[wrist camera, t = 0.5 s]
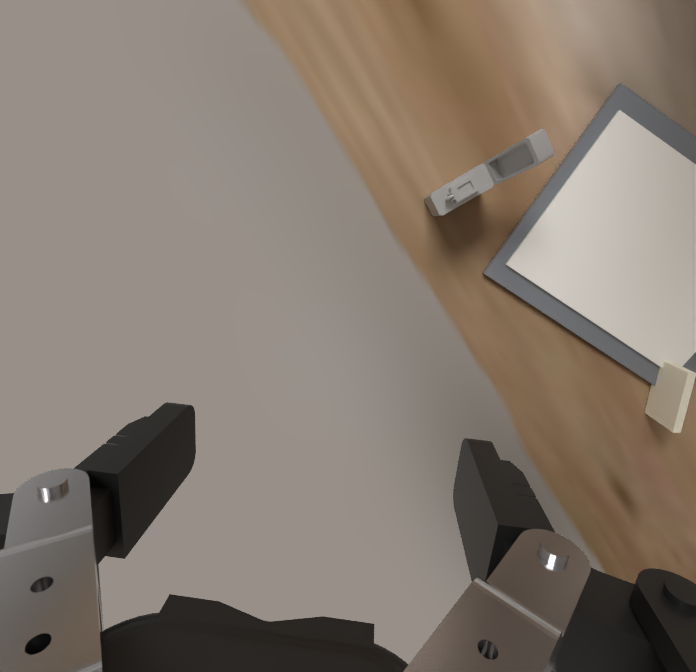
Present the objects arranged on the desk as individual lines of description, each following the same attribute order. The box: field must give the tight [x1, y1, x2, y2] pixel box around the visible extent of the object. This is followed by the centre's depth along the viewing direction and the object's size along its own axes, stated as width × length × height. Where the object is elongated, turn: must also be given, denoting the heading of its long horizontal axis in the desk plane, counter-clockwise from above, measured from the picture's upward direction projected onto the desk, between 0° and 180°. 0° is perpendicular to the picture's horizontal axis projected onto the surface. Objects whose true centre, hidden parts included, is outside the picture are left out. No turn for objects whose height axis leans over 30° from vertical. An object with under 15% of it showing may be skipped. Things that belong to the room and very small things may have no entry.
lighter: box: [424, 129, 554, 216], centre depth 29 cm, size 7×2×8 cm, turn 120°
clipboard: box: [483, 84, 696, 386], centre depth 32 cm, size 16×20×2 cm
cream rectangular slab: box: [645, 361, 696, 433], centre depth 34 cm, size 5×1×4 cm, turn 178°
